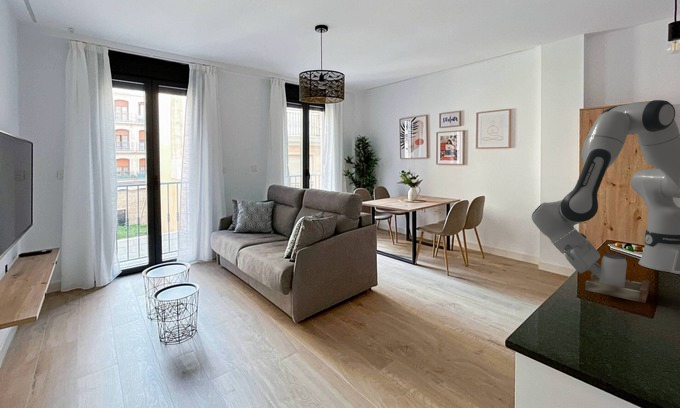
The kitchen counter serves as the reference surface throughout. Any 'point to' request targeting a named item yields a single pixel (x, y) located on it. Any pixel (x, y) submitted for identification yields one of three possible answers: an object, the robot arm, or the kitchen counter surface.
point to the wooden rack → (620, 289)
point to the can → (613, 270)
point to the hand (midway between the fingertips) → (602, 276)
